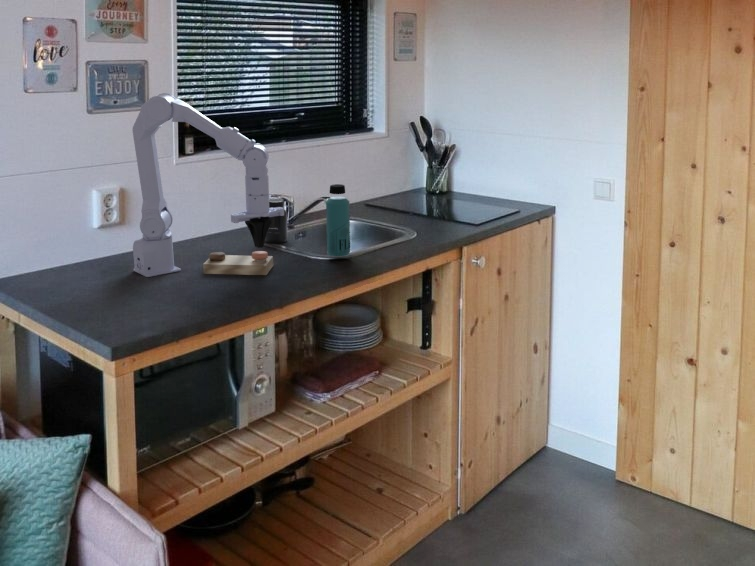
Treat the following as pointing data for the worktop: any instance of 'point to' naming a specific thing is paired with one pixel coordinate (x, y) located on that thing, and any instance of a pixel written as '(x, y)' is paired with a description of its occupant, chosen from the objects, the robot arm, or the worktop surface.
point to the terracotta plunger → (259, 256)
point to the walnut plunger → (217, 256)
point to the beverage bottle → (338, 223)
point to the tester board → (238, 266)
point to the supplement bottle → (277, 224)
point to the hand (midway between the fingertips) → (259, 246)
